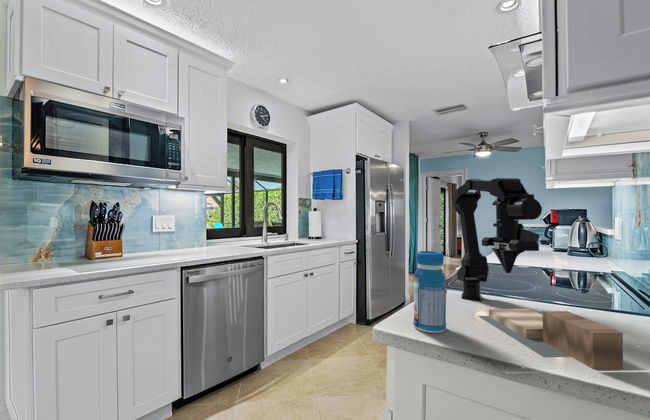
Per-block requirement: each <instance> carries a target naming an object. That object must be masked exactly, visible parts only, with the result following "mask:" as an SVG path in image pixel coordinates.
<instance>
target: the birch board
mask: <svg viewBox="0 0 650 420" xmlns="http://www.w3.org/2000/svg"><path fill="white" fill-rule="evenodd" d="M488 316H489V317H490V318H492V319H494V320H496V321H497V322H499V323H501V324H502V325H504V326H506V327H507V328H509V329H511V330H513V331H514V332H516V333H518V334H519V335H521V336H523V337H525V338H543V314H541V313H539V312H537V311H534V310H532V309H530V308H489V309H488Z"/></svg>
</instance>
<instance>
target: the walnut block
mask: <svg viewBox="0 0 650 420" xmlns="http://www.w3.org/2000/svg"><path fill="white" fill-rule="evenodd" d="M542 315H543V341H544V342H546V343H547V344H549V345H551V346H553V347H555V348H556V349H558V350H560V351H562V352H564V353H565V354H567V355H569V356H571V357H570V358H573V359H575V360H576V361H579V362H580V363H582V364H584V365H585V366H587V367H589V368H591V369H593V370H601V369H603V370H607V369H609V370H610V369H612V370H613V369H618V370H619V369H624V361H623V360H624V351H623V350H624V344H623V343H624V338H623V336H624V333H623V331H620V330H617V329H614V328H612V327H610V326H607V325H604V324H601V323H600V322H596V321H594V320H591V319H588V318H586V317H584V316H581V315H579V314H576V313H574V312H570V311H567V310H552V311H551V310H548V311H547V310H543V311H542Z"/></svg>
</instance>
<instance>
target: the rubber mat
mask: <svg viewBox="0 0 650 420" xmlns="http://www.w3.org/2000/svg"><path fill="white" fill-rule="evenodd" d="M477 317H479V318H480V319H482V320H483V321H485V322H487V324H489V325H491V326H493V327H494V328H496V329H498V330H499V331H501V332H502V333H504V334H506V335H507V336H509V337H510V338H511V339H514V340H515V341H517V342H518V343H520V344H522V345H523V346H524V347H527V348H528V349H529V350H531V351H533V352H534V353H536V354H538V355H539V356H542V357H543V358H572V357H571V356H569V355H567V354H565V353H564V352H562V351H560V350H558V349H556V348H555V347H553V346H551V345H549V344H547V343H546V342H544V341H543V338H525V337H523V336H521V335H519V334H518V333H516V332H514V331H513V330H511V329H509V328H507V327H506V326H504V325H502V324H501V323H499V322H497V321H496V320H494V319H492V318H490V317H489V315H478V316H477Z"/></svg>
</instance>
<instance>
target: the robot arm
mask: <svg viewBox="0 0 650 420" xmlns="http://www.w3.org/2000/svg"><path fill="white" fill-rule="evenodd" d="M521 181H522V180H521V179H520V178H517V177H515V178H513V177H496V178H493V179H480V178H469V179H467V180H465V182H464V183H463V184H461V186H459V187H458V188H456V190H455V192H454V193H453V195H452V197H451V202H452V204H453V208H454V210H455V212H456V214H458V216H459V221H460V226H461V227H460V228H461V235H462V242H463V243H462V244H463V248H464V254H463V257H461V261H460V267H459V269H458V271H457V272H456V279H457V280H459V281H460V282H462V293H461V299H466V300H475V301H482V300H483V298H482V294H481V282H482V283H484V282H485V283H486V282H487V280H488V276H489V271H490V270H489V269H490V267H489V265H488V258H487V256H485V255H483V254H482V253H481V252H480V251H481V250H480V246H479V240H478V239H479V238H478V232H477V231H478V230H477V224H476V219H475V212H476V210H477V208H478V207H479V205H478V202H479V201H480V200H481V197H482V194H481V192H487V193H489V195H490V196H493V197H494V198H495V199H494V201H493V202H492V203H491V205H492V206H495V218H496V219H495V221H496V222H495V223H492V226H493V227H495V228H496V231H495V232H496V236H492V237H491V236H484V237H483V238H482V239H481V246H483V247H491V246H493V248H491V251H493V252H494V254H495V255H496V258H497V259H498V261H499V263H500V265H501V267H502V268H503V270H504V272H505V273H506V274H510V273H512V270H513V268H514V265H515V262H516V260H517V258H518V256H519V255H520V254H521V253H524V252H539V251H540V243H539V241H540V237H541V234H538V233H536V232H533V231H531V230H527V229H525V228H524V225H523V223H519V222H520V221H523V220H525V221H526V220H527V221H529V220H531V221H533V220H536V219H538V218H539V217H540V216H541V214H542V213H543V207H542V205H541V203H540V202H539V201H538V200H537V199H536V198H535V194H530V193H528V191H527V189H526V188H525V186H524V185H523V183H522V182H521ZM474 191H475V192H474Z"/></svg>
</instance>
